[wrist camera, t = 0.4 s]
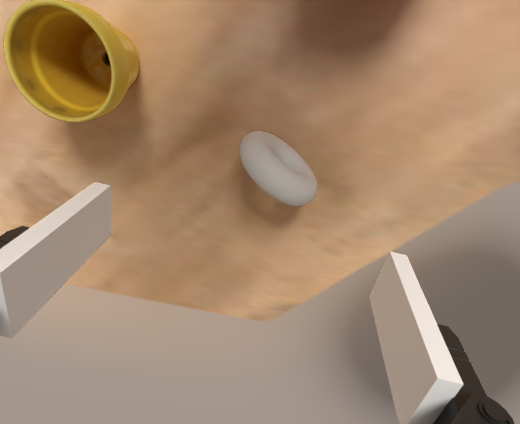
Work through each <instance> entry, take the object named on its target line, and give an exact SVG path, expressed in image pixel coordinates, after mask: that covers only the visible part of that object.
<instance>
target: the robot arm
mask: <svg viewBox="0 0 520 424" xmlns="http://www.w3.org/2000/svg"><path fill="white" fill-rule="evenodd" d="M110 236H111V186H110V185H106V184H102V183H98V182H94V183H92V184H91V185H89V186H88V187H87V188H85V189H84V190H82V191H81V192H79V193H78V194H77V195H75V196H74V197H72V198H71V199H70V200H68V201H67V202H65V203H64V204H63V205H61V206H60V207H58V208H57V209H56V210H54V211H53V212H51V213H50V214H49V215H47V216H46V217H44V218H43V219H42V220H40V221H39V222H37V223H36V224H35V225H33V226H32V227H30V228H28V227H24V226H21V227H19V228H16V229H13V230H10V231H7V232H6V233H4V234H3V235H1V236H0V335H1V336H4V337H8V338H13V337H14V336H15V335H16V334H17V333H18V332H19V331H20V330H21V329H22V328H23V326H24V325H25V324H26V323H27V322H28V321H29V320H30V319H31V318H32V317H33V316H34V315H35V314H36V313H37V312H38V311H39V310H40V309H41V308H42V307H43V306H44V304H46V302H47V301H48V300H49V299H50V298H51V297H52V296H53V295H54V294H55V293H56V292H57V291H58V290H59V289H60V288H61V287H62V286H63V285H64V284H65V283H66V282H67V281H68V280H69V278H70V277H71V276H72V275H73V274H74V273H75V272H76V271H77V270H78V269H79V268H80V267H81V266H82V265H83V264H84V263H85V262H86V261H87V260H88V259H89V258H90V257H91V255H92V254H93V253H94V252H95V251H96V250H97V249H98V248H99V247H100V246H101V245H102V244H103V243H104V242H105V241H106V240H107V239H108V238H109V237H110ZM369 298H370V302H371V306H372V310H373V315H374V319H375V323H376V328H377V332H378V336H379V340H380V345H381V349H382V353H383V358H384V362H385V366H386V370H387V375H388V379H389V383H390V387H391V392H392V396H393V400H394V405H395V409H396V413H397V417H398V421H399V424H514V422H513V419H512V418H511V416H510V415H509V414H508V412H507V411H506V410H505V409H504V408H503V407H502V406H501V405H500V404H498V403H497V402H496V401H494V400H492V399H491V398H489V397H487V395H486V393H485V391H484V389H483V387H482V385H481V384H480V381H479V379H478V377H477V375H476V373H475V371H474V369H473V367H472V365H471V363H470V362H469V359H468V357H467V355H466V353H465V352H464V349H463V347H462V345H461V343H460V341H459V339H458V337H457V336H456V335H455V334H454V333H453V332H452V331H451V329H450V328H449V327H448V326H444V325H439V324H437V323H436V321H435V319H434V316H433V315H432V312H431V310H430V307H429V305H428V303H427V301H426V298H425V296H424V294H423V292H422V289H421V287H420V285H419V283H418V280H417V278H416V276H415V274H414V271H413V269H412V267H411V265H410V262H409V260H408V258H407V256H406V255H402V254H398V253H394V252H390V253H389V255H388V257H387V260H386V262H385V264H384V266H383V268H382V270H381V273H380V275H379V277H378V279H377V281H376V284H375V286H374V288H373V290H372V292H371V295H370V297H369Z"/></svg>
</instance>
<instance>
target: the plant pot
mask: <svg viewBox="0 0 520 424" xmlns="http://www.w3.org/2000/svg"><path fill="white" fill-rule="evenodd" d="M3 49H4V57H5V61H6V65H7V68H8V71H9V73H10V75H11V77H12V80H13V81H14V83H15V85H16V87H17V88H18V89H19V91H20V92H21V94H22V95H23V96H24V97H25V98H26V99H27V100H28V101H29V102H30V103H31V104H32V105H33V106H34V107H35V108H37V109H38V110H39V111H41V112H42V113H44V114H46V115H48V116H50V117H52V118H54V119H57V120H61V121H65V122H72V123H80V122H86V121H90V120H93V119H96V118H98V117H101V116H103V115H105V114H107V113H109V112H111V111H112V110H114V109H115V108H116V107H117V106H118V105H119V104H120V103H121V102H122V100H123V99H124V97H125V95H126V92H127V90H128V88H129V87H130V86H131V85H132V84H133V83H134V81H135V80H136V78H137V75H138V72H139V57H138V53H137V50H136V48H135V46H134V44H133V43H132V41H131V40H130V39H129V38H128V37H127V36H126V35H125V34H124V33H123V32H121V31H120V30H118V29H116V28H114V27H112V26H111V25H110V24H109V23H108V22H107V21H106V20H105V19H104V18H103V17H102V16H101V15H99V14H98V13H97V12H95V11H93V10H92V9H90V8H88V7H86V6H83V5H80V4H77V3H73V2H69V1H64V0H31V1H29V2H26V3H25V4H23V5H22V6H20V7H19V8H18V9H17V10H16V11H15V12H14V13H13V14H12V16H11V17H10V19H9V21H8V23H7V25H6V28H5V32H4V39H3ZM106 54H108V57H109V61H110V64H108V63H107V61H106V60H105V55H106Z"/></svg>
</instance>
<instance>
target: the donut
mask: <svg viewBox="0 0 520 424" xmlns="http://www.w3.org/2000/svg"><path fill="white" fill-rule="evenodd" d="M239 156H240V159H241V162H242V165H243V166H244V168H245V170H246V171H247V173H248V174H249V176H250V177H251V178H252V179H253V180H254V182H255V183H256V184H257V185H258V186H259V187H260V188H261V189H263V190H264V191H265V192H266V193H267V194H269V195H270V196H272V197H273V198H275V199H276V200H278V201H280V202H282V203H285V204H287V205H291V206H302V205H305V204H308V203H309V202H311V201H312V200H313V199H314V197H315V195H316V191H317V181H316V177H315V175H314V173H313V171H312V170H311V168H310V167H309V165H308V164H307V163H306V161H305V160H304V159H303V158H302V157H301V156H300V155H299V154H298V153H297V152H296V151H295V150H294V149H293V148H292V147H291V146H289V145H288V144H287V143H285V142H284V141H283V140H281V139H280V138H278V137H276V136H275V135H272V134H270V133H267V132H264V131H253V132H251V133H249V134H247V135H246V136H245V137H244V138H243V139H242V141H241V143H240V149H239Z"/></svg>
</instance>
